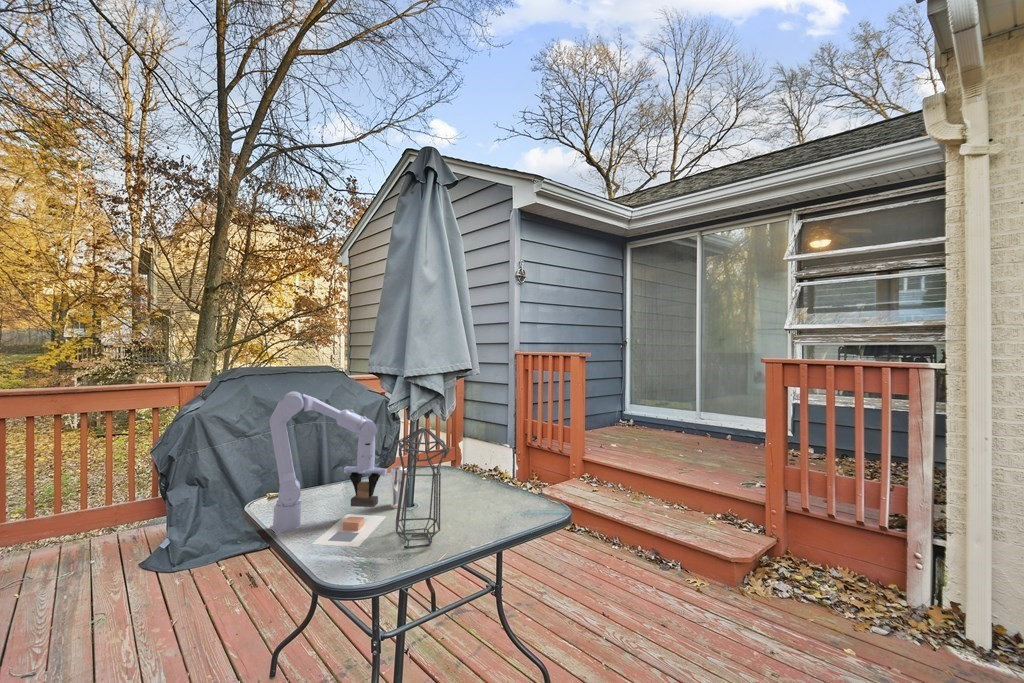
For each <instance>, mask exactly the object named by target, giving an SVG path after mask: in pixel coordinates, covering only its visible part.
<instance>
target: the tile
mask: <svg viewBox="0 0 1024 683" xmlns="http://www.w3.org/2000/svg"><path fill="white" fill-rule="evenodd" d="M363 526H364V517H348V518H347V519H346V520H345V521H344V522H343V530H350V531H359V530H360V529H361V528H362V527H363Z"/></svg>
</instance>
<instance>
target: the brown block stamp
mask: <svg viewBox="0 0 1024 683" xmlns="http://www.w3.org/2000/svg"><path fill="white" fill-rule="evenodd" d="M378 503H379V496H378V495H372V496H369V481H362V480H361V482H359V483H358V484H357V496H356V494H355V495H354V496H353V497H351V498H350V507H355V508H356V507H359V508H361V507H363V508H375V507H376V506H377V505H378Z"/></svg>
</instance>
